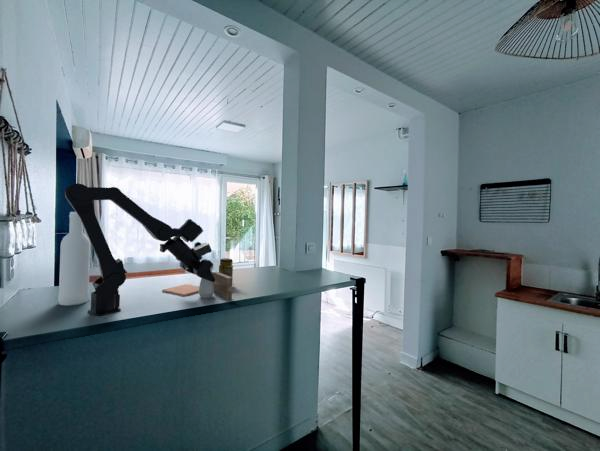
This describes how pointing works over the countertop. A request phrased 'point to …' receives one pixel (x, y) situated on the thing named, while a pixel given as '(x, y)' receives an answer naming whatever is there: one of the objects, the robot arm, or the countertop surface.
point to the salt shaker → (206, 287)
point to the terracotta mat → (182, 290)
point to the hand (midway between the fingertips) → (210, 279)
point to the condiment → (226, 267)
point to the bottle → (74, 264)
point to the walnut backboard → (222, 285)
